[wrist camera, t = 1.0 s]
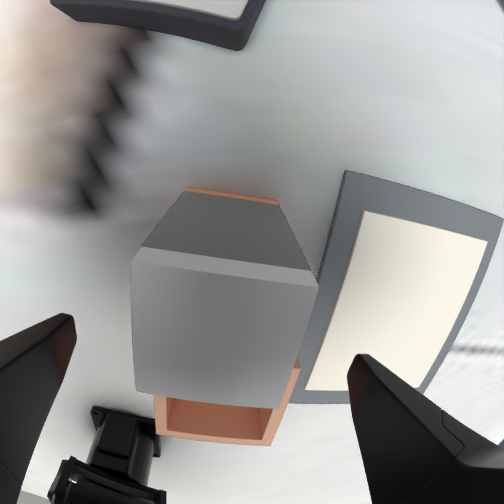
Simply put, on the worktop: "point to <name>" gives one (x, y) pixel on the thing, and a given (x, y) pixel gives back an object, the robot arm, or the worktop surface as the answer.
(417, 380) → the writing mat
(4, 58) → the worktop surface
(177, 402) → the copper square tube
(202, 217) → the grey square block
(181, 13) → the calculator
